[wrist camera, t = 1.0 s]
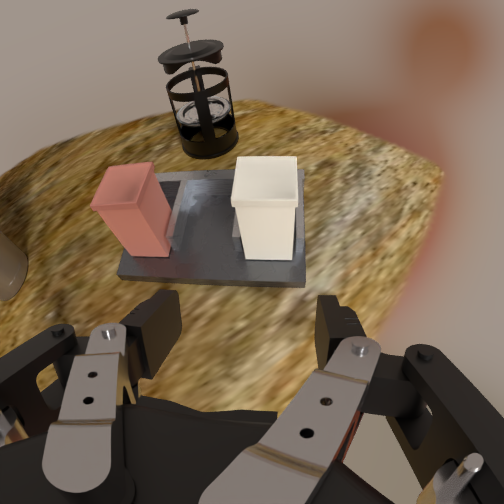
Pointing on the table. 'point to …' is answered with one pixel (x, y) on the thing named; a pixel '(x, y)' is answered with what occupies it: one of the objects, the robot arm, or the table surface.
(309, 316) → the table surface
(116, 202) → the pink boxy piece
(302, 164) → the table surface
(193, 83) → the french press
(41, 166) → the table surface
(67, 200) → the table surface
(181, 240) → the dark grey tray
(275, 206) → the white tall block
